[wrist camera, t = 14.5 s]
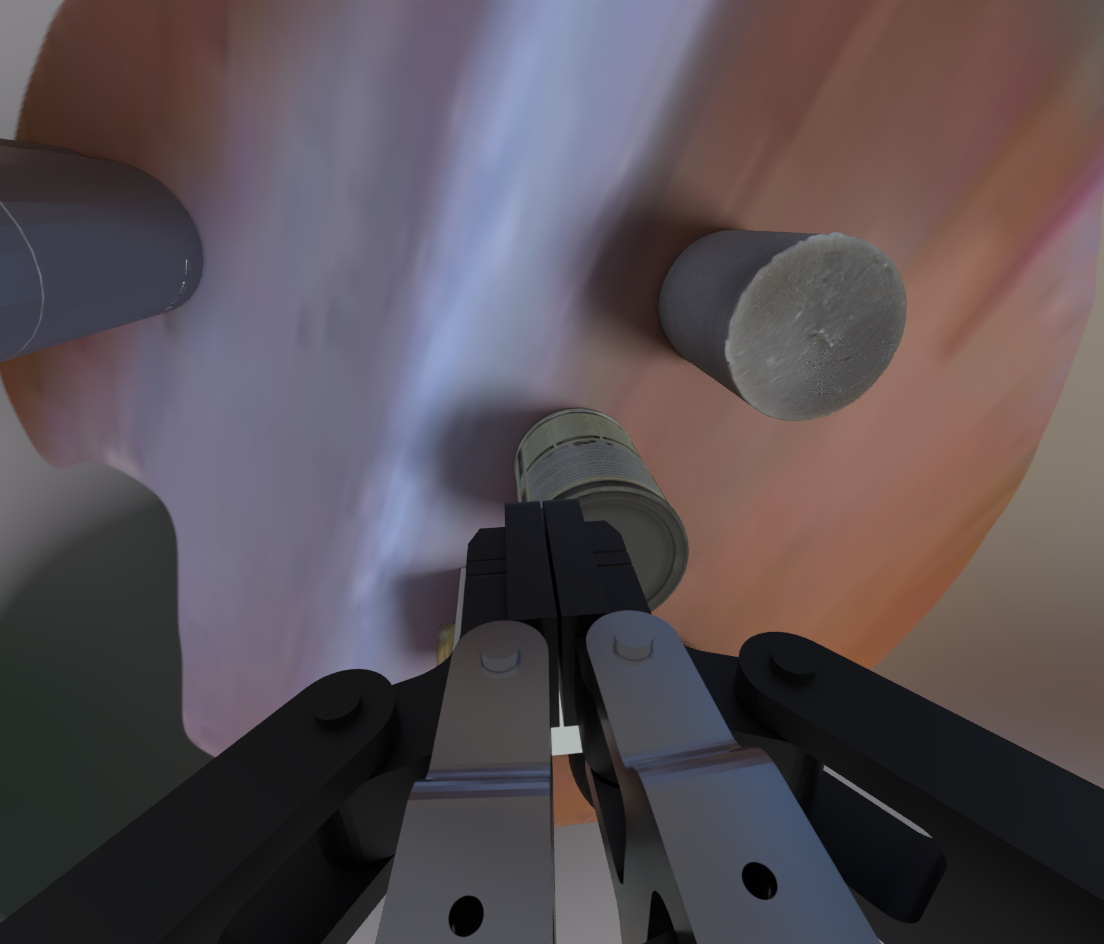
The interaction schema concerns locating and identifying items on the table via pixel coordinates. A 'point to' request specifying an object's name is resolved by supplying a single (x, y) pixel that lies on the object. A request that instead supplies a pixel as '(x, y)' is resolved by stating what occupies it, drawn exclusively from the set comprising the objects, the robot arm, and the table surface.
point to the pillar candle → (785, 317)
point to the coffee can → (605, 491)
